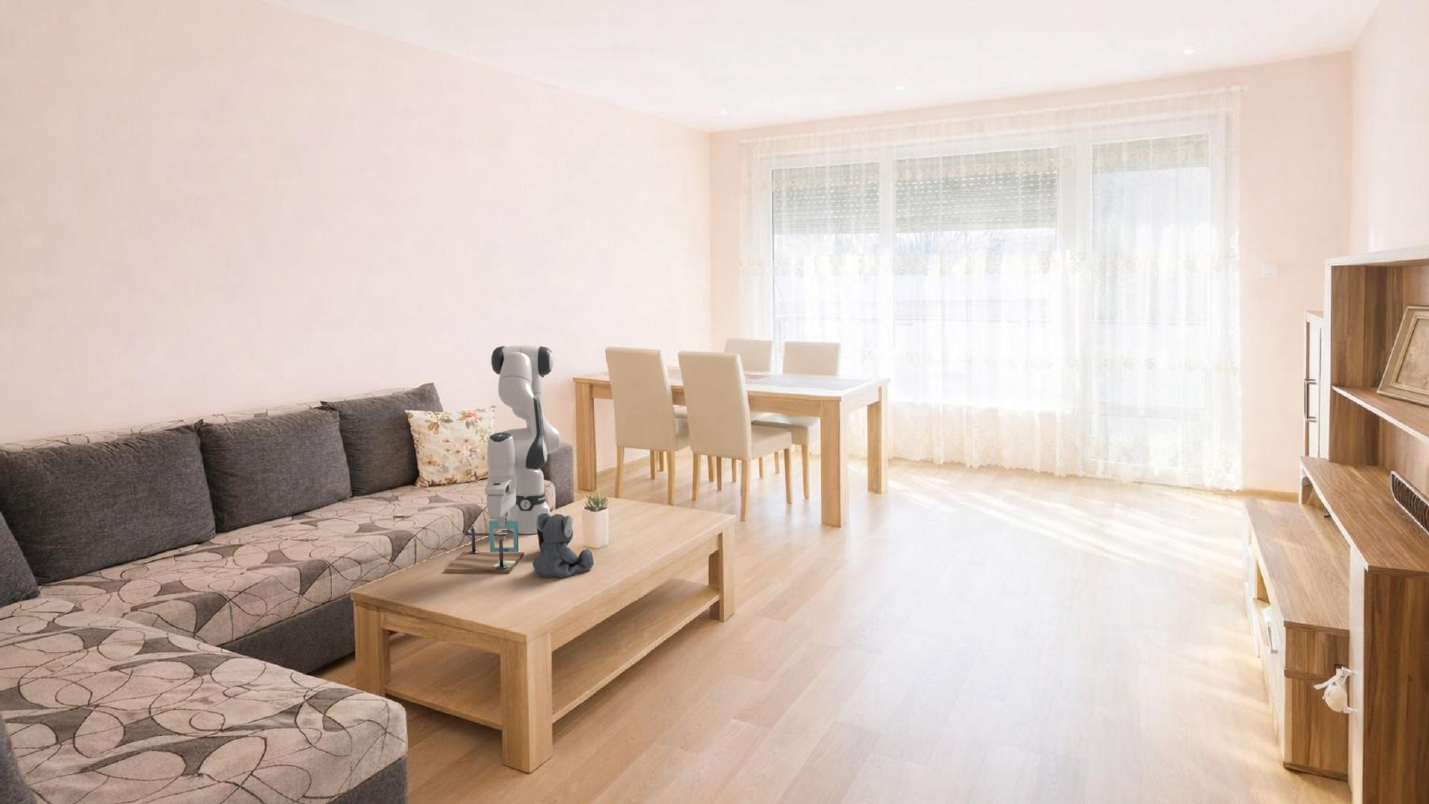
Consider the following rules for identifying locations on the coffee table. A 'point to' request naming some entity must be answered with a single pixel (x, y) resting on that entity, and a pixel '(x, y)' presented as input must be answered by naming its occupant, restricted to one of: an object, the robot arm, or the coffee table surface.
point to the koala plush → (559, 548)
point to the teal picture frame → (509, 525)
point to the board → (484, 562)
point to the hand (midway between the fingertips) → (503, 525)
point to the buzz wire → (487, 535)
